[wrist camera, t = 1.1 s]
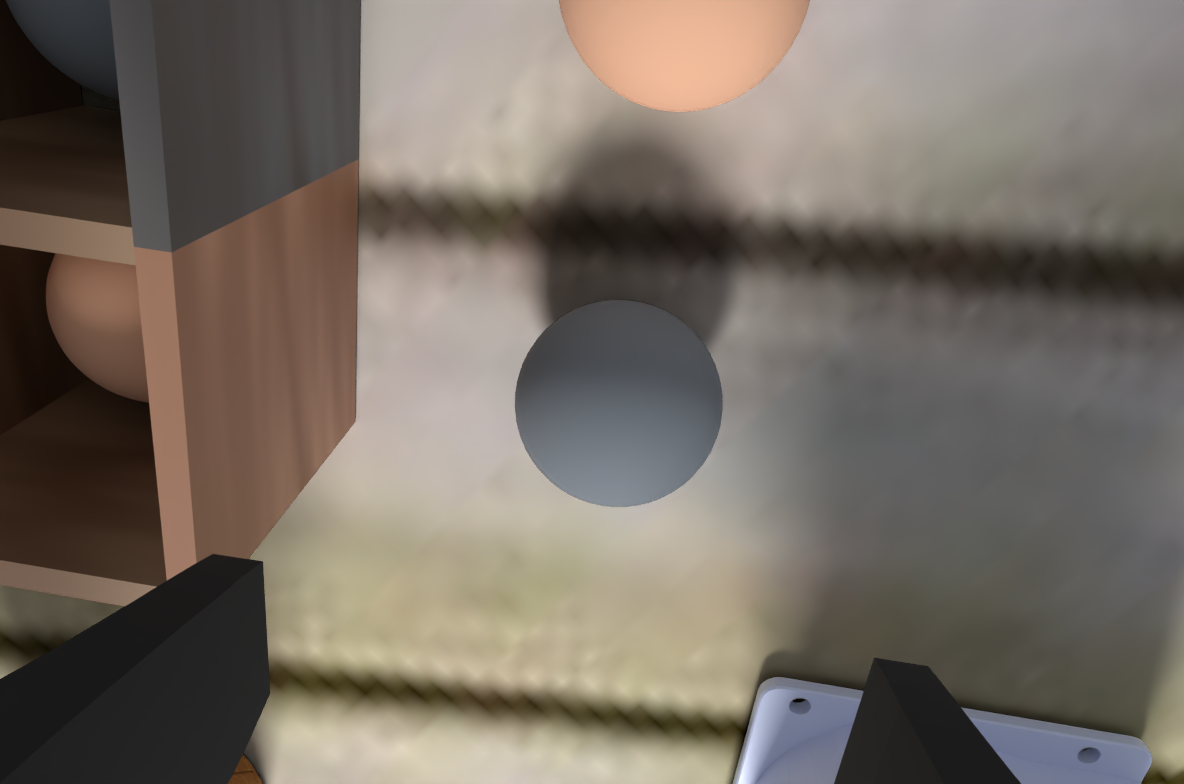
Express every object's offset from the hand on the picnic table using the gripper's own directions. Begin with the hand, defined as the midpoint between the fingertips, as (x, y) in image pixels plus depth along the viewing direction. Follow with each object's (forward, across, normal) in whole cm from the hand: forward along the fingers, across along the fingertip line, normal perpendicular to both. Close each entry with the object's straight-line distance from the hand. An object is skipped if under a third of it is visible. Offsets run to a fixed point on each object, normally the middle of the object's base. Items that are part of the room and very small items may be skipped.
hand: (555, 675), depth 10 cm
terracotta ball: (+9, 0, -8) cm, 12 cm away
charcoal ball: (+9, 0, 0) cm, 9 cm away
